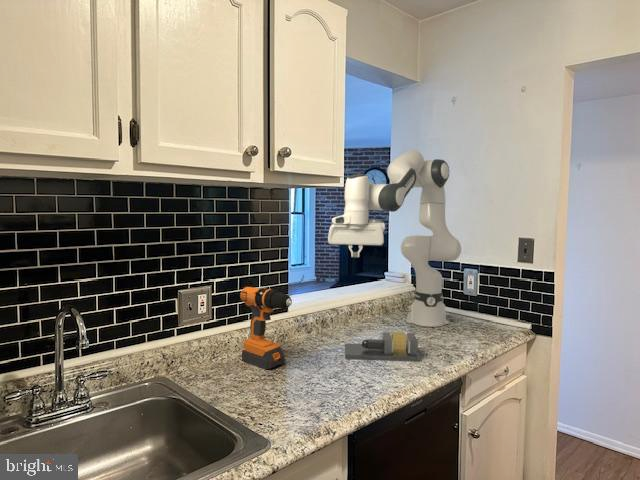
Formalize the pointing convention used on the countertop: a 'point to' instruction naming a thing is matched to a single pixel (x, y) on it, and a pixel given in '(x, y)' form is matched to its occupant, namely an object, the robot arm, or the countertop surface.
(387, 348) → the jaw
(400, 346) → the block
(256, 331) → the power drill
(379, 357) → the vise
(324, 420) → the countertop surface
